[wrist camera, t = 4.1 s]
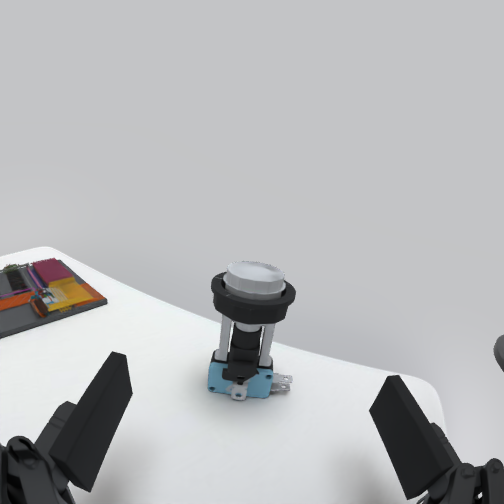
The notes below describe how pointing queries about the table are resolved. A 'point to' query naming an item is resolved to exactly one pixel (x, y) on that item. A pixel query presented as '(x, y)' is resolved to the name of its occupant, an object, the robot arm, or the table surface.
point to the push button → (248, 329)
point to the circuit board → (42, 295)
